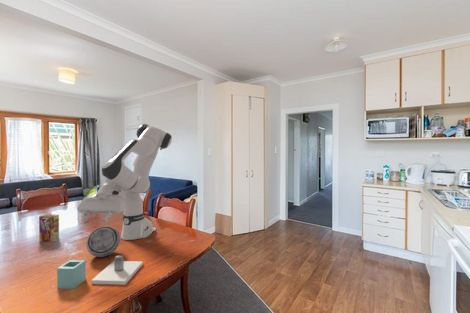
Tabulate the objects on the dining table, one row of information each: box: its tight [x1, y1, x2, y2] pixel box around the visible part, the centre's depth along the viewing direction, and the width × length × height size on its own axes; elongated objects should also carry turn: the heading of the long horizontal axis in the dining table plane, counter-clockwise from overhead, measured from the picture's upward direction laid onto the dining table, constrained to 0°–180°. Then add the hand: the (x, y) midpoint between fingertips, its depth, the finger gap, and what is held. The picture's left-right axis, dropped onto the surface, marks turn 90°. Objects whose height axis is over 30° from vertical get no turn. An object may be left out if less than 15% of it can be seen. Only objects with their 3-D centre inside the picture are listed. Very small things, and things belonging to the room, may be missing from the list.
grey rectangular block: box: [113, 255, 125, 271], centre depth 98 cm, size 2×3×6 cm, turn 88°
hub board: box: [90, 260, 144, 286], centre depth 98 cm, size 16×14×2 cm
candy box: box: [38, 214, 60, 243], centre depth 133 cm, size 9×4×15 cm, turn 89°
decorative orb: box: [86, 225, 121, 258], centre depth 115 cm, size 15×14×15 cm
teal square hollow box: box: [56, 259, 87, 290], centre depth 90 cm, size 7×7×8 cm
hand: (94, 221), depth 102 cm, fingers open, 8 cm apart
